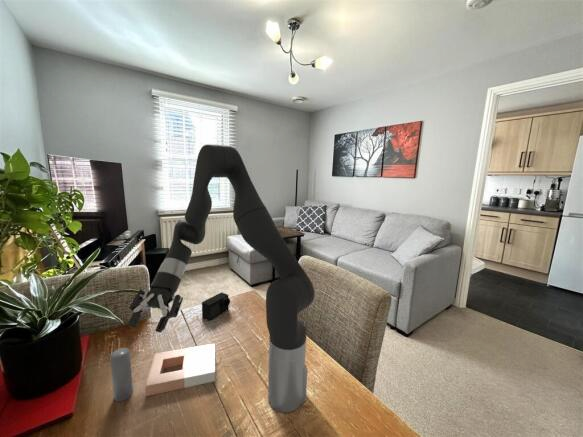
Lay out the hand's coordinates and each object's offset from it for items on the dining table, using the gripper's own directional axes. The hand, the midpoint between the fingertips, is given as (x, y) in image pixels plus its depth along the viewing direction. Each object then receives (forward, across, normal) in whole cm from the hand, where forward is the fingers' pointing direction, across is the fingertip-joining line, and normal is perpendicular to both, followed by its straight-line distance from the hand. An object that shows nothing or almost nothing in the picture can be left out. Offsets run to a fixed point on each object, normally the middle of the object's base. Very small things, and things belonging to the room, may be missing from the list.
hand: (144, 329), depth 68 cm
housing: (+8, +10, +10) cm, 17 cm away
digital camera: (-13, +6, +32) cm, 35 cm away
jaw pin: (+15, 0, +3) cm, 15 cm away
